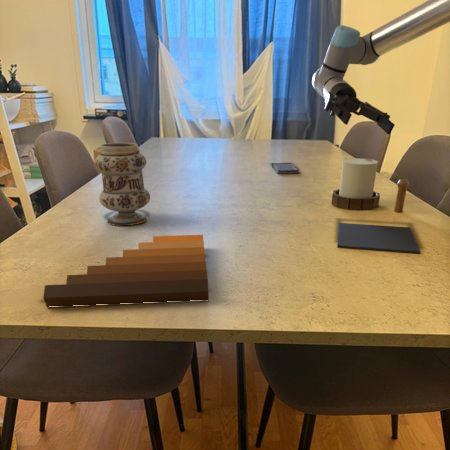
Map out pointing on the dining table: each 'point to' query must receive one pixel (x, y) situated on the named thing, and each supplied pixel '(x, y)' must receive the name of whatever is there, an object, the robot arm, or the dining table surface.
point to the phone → (284, 168)
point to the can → (358, 178)
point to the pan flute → (140, 276)
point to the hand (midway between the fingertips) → (370, 124)
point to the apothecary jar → (123, 182)
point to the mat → (377, 238)
